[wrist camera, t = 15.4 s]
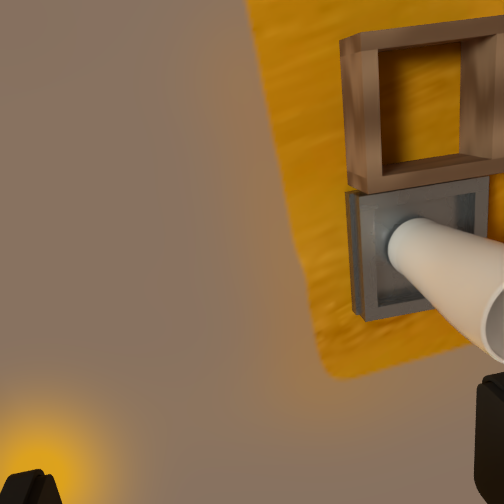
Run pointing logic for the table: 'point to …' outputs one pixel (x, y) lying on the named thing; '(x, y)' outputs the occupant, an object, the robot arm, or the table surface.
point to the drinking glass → (455, 278)
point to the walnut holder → (471, 104)
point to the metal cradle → (387, 221)
